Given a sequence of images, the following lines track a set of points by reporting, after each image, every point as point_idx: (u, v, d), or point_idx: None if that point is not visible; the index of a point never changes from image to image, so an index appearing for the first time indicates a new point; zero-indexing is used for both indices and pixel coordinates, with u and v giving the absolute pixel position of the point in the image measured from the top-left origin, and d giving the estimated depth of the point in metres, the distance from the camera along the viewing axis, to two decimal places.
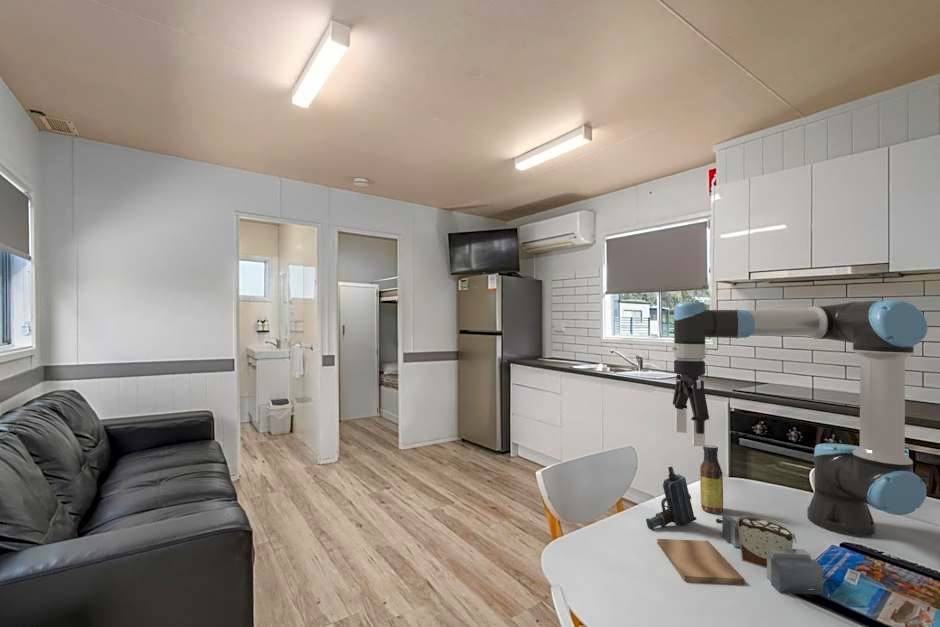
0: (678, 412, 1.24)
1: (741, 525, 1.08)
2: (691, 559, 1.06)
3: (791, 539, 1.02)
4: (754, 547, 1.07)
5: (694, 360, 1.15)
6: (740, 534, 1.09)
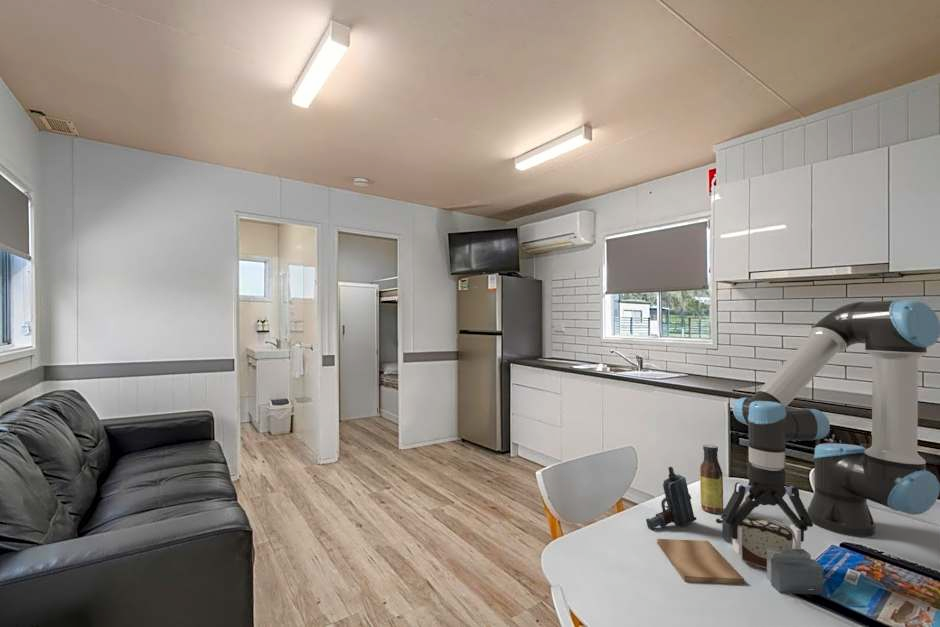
0: None
1: (741, 525, 1.08)
2: (691, 559, 1.06)
3: (791, 539, 1.02)
4: (754, 547, 1.07)
5: (753, 465, 1.08)
6: None
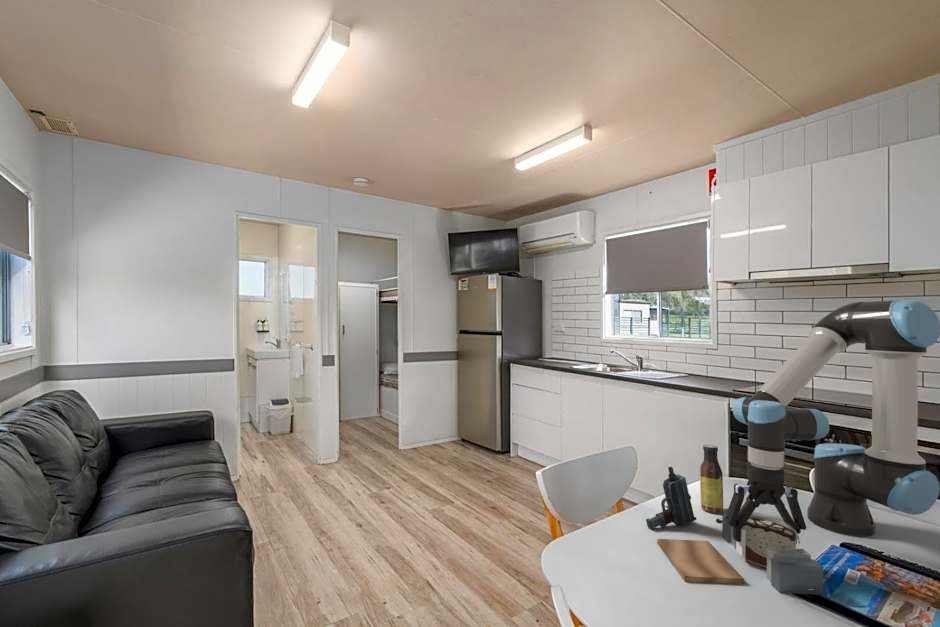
0: None
1: (744, 525, 1.08)
2: (691, 559, 1.06)
3: (794, 540, 1.01)
4: (757, 547, 1.06)
5: (753, 464, 1.08)
6: None
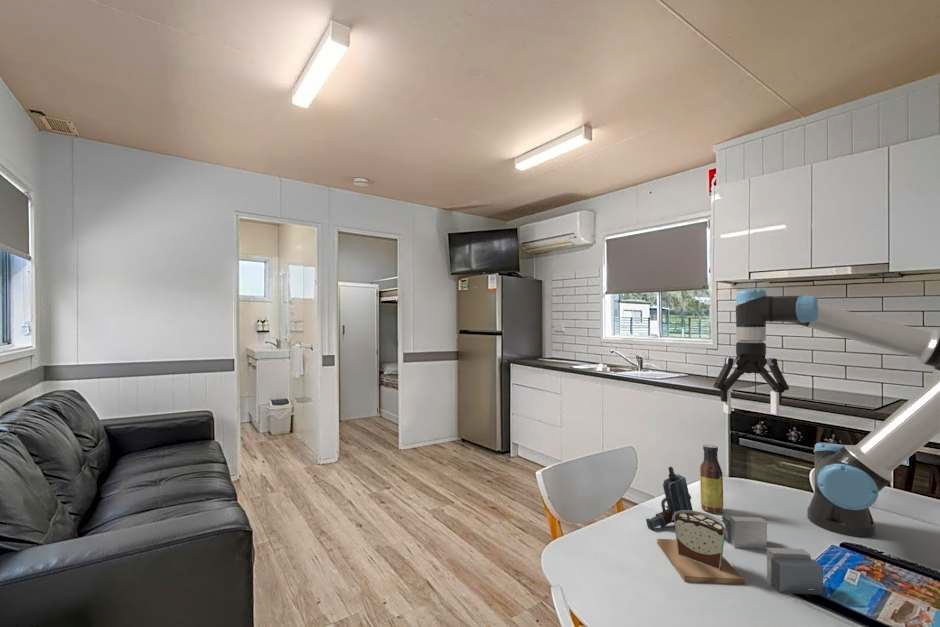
0: (771, 394, 1.31)
1: (677, 519, 1.09)
2: None
3: (722, 534, 1.01)
4: (689, 541, 1.07)
5: (740, 341, 1.30)
6: (676, 528, 1.09)
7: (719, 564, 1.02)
